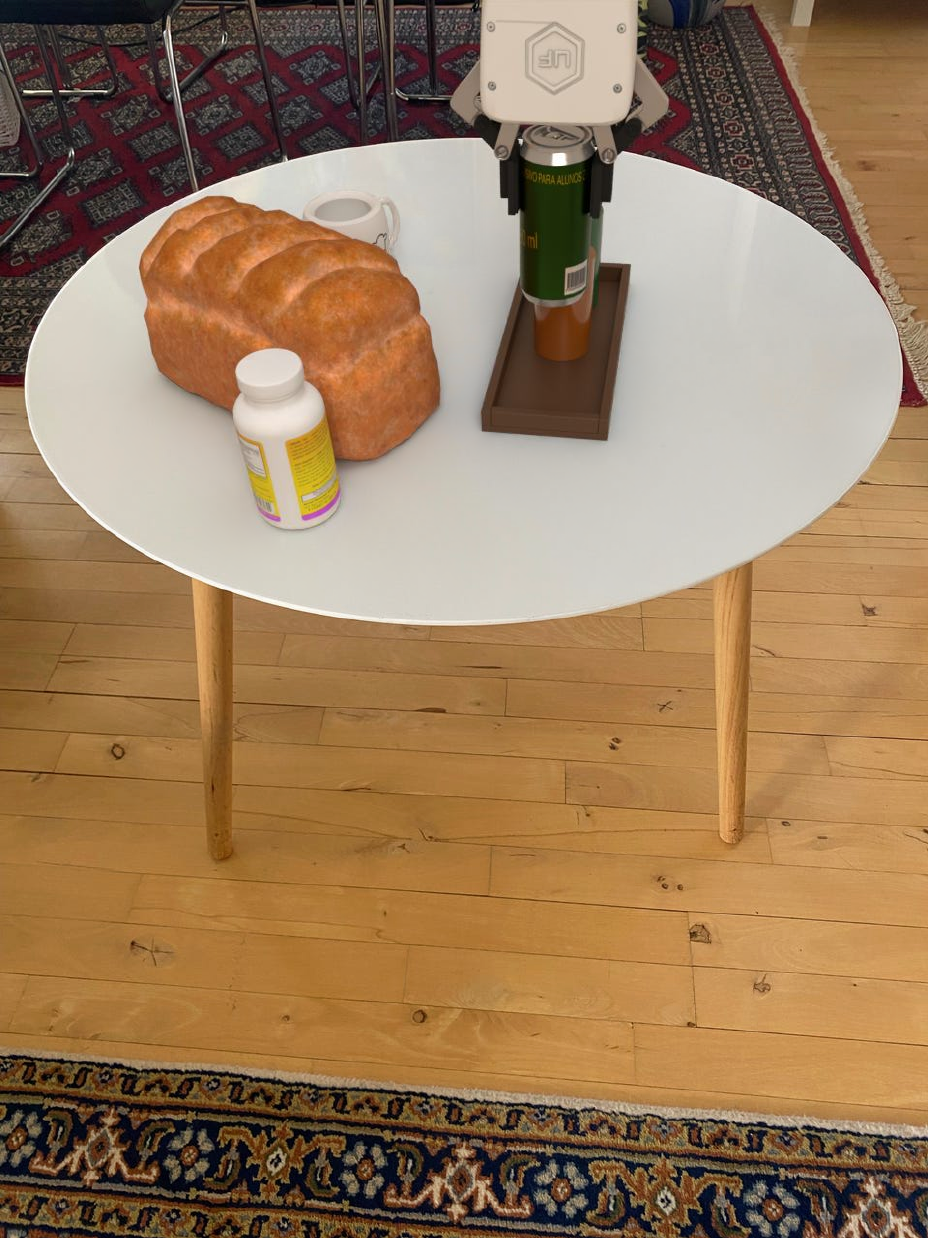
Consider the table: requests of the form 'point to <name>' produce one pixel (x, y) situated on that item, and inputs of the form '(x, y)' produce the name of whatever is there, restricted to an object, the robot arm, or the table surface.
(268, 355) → the supplement bottle
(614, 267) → the tray
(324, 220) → the mug
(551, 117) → the robot arm
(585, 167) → the beer can
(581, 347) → the amber bottle
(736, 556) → the table surface
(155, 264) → the bread
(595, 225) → the green bottle
